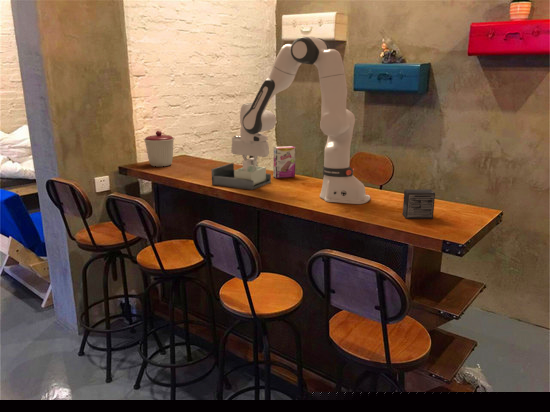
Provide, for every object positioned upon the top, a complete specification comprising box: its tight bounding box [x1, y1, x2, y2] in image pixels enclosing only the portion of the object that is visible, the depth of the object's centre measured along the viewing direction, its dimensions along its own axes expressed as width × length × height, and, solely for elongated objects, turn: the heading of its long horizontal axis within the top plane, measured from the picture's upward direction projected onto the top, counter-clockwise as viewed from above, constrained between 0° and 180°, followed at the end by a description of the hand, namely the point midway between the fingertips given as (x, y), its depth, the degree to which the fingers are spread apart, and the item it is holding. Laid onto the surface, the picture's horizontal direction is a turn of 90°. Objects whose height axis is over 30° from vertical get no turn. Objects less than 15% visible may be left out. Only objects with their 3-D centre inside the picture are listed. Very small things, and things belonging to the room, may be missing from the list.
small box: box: [402, 188, 436, 220], centre depth 175 cm, size 11×6×10 cm, turn 88°
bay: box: [211, 162, 272, 191], centre depth 230 cm, size 24×18×8 cm
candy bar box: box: [272, 145, 297, 179], centre depth 243 cm, size 11×5×16 cm, turn 110°
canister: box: [143, 130, 175, 168], centre depth 275 cm, size 18×18×21 cm
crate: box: [234, 158, 267, 185], centre depth 226 cm, size 10×14×12 cm
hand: (250, 164), depth 226 cm, fingers closed on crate, 2 cm apart
